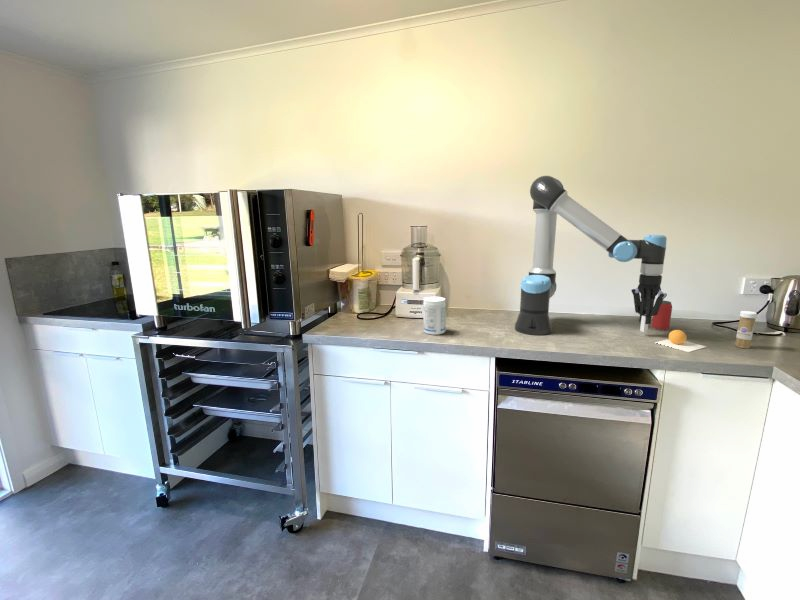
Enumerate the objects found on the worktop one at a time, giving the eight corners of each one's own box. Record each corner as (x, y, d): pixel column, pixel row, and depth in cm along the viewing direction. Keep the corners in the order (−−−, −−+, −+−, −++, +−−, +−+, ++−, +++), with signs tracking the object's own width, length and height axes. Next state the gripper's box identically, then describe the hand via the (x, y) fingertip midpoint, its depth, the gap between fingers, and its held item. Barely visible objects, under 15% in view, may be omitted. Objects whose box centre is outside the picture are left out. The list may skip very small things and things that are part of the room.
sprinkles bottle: (734, 347, 144) (740, 312, 141) (734, 344, 147) (740, 309, 145) (750, 349, 141) (757, 314, 138) (750, 346, 144) (756, 311, 142)
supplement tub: (439, 328, 172) (440, 295, 169) (449, 333, 163) (450, 299, 160) (419, 330, 169) (419, 297, 166) (428, 336, 160) (428, 301, 157)
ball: (672, 348, 147) (662, 336, 150) (681, 345, 149) (670, 334, 152) (684, 340, 143) (673, 328, 146) (692, 337, 145) (681, 326, 148)
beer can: (672, 330, 165) (675, 303, 163) (655, 330, 167) (658, 302, 164) (665, 326, 172) (668, 300, 169) (648, 325, 173) (652, 299, 170)
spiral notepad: (654, 343, 149) (654, 342, 149) (672, 338, 155) (672, 338, 155) (688, 352, 139) (688, 351, 139) (706, 347, 144) (706, 346, 144)
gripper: (673, 275, 150) (665, 333, 155) (640, 271, 161) (633, 326, 166) (662, 276, 146) (654, 336, 151) (629, 272, 158) (622, 328, 163)
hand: (643, 331), depth 159 cm, fingers closed
